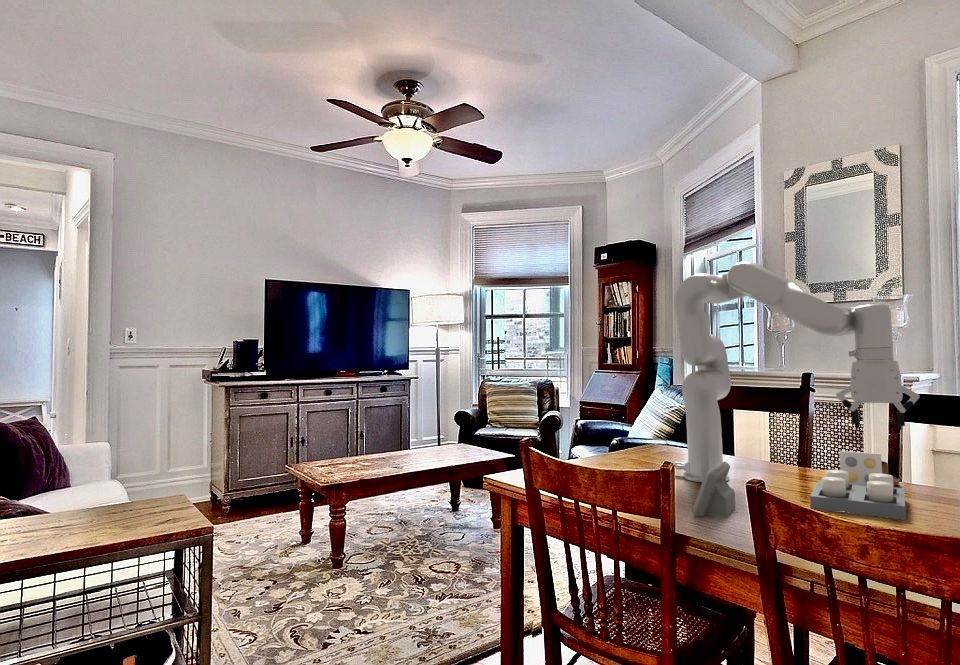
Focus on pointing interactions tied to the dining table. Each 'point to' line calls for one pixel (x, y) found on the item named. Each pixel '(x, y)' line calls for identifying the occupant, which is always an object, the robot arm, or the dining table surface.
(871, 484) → the button
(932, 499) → the dining table surface
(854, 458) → the card
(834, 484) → the button
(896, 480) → the cup and saucer
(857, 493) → the button board
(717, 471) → the grey slanted panel stand
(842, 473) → the button
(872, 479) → the button
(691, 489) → the dining table surface
